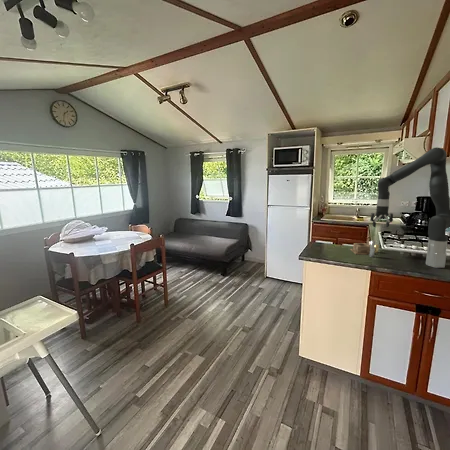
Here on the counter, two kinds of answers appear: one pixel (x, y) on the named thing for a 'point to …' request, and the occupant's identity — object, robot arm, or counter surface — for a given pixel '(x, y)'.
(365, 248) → the socket block
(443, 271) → the counter surface
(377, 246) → the short brass pin
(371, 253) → the long steel pin
